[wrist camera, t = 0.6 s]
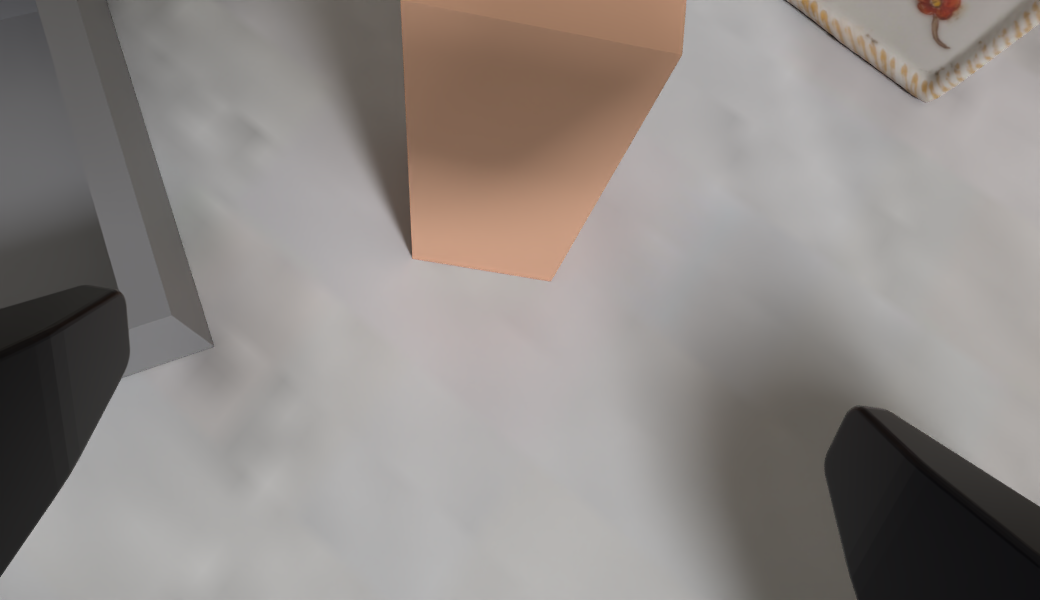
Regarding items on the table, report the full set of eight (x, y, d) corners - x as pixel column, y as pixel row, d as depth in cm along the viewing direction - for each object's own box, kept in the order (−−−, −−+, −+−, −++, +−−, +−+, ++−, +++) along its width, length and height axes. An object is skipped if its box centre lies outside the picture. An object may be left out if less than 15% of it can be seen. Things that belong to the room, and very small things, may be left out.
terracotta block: (550, 281, 24) (681, 54, 12) (412, 258, 23) (400, -1, 11) (566, 156, 25) (699, -164, 13) (435, 133, 24) (446, -220, 12)
